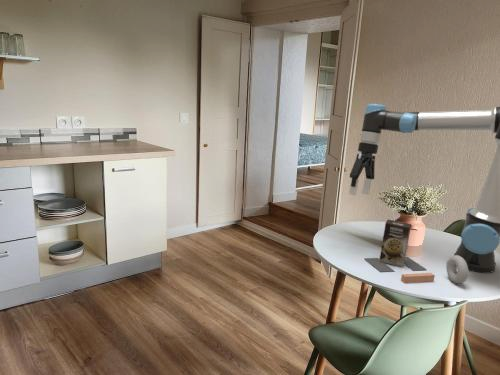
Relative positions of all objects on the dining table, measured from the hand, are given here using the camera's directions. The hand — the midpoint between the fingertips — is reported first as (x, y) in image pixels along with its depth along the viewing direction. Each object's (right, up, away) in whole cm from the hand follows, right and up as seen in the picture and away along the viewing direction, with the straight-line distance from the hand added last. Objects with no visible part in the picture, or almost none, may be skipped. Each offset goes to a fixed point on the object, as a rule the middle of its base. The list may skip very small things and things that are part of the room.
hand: (358, 194), depth 161 cm
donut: (+29, -32, -20) cm, 47 cm away
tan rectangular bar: (+15, -31, -21) cm, 40 cm away
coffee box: (+11, -27, -6) cm, 30 cm away
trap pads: (+12, -27, -8) cm, 31 cm away
